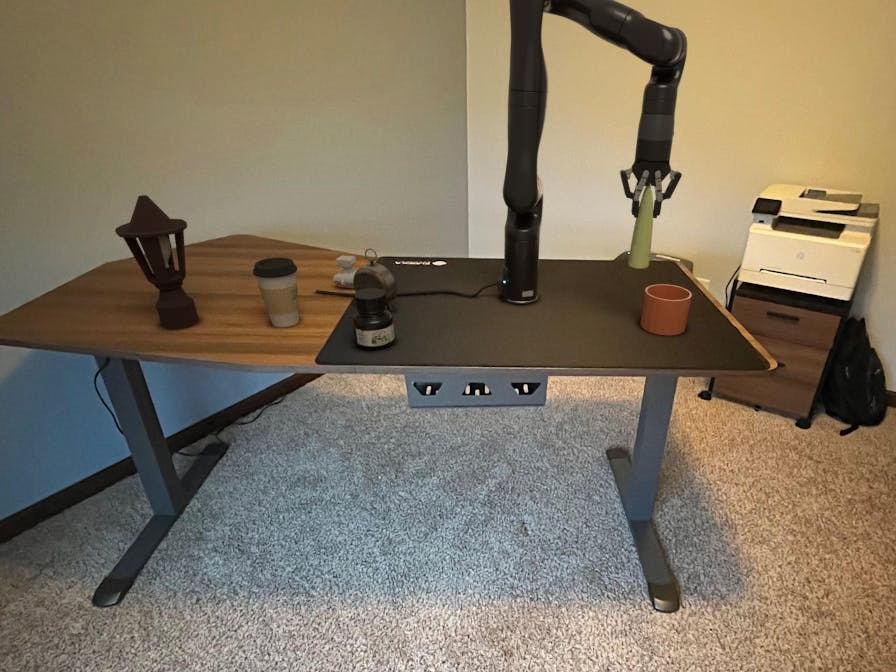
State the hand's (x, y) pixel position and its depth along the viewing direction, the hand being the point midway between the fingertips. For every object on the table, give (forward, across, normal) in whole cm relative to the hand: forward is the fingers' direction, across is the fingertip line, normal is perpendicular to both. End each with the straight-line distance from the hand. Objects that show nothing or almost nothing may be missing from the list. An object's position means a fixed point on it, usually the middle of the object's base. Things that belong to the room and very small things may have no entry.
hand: (644, 216), depth 130 cm
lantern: (+26, +111, +12) cm, 115 cm away
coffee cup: (+26, +86, +9) cm, 90 cm away
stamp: (+26, +78, -17) cm, 84 cm away
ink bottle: (+26, +61, +18) cm, 69 cm away
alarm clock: (+26, +66, -1) cm, 71 cm away
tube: (+12, 0, 0) cm, 12 cm away
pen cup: (+27, -8, +2) cm, 28 cm away
